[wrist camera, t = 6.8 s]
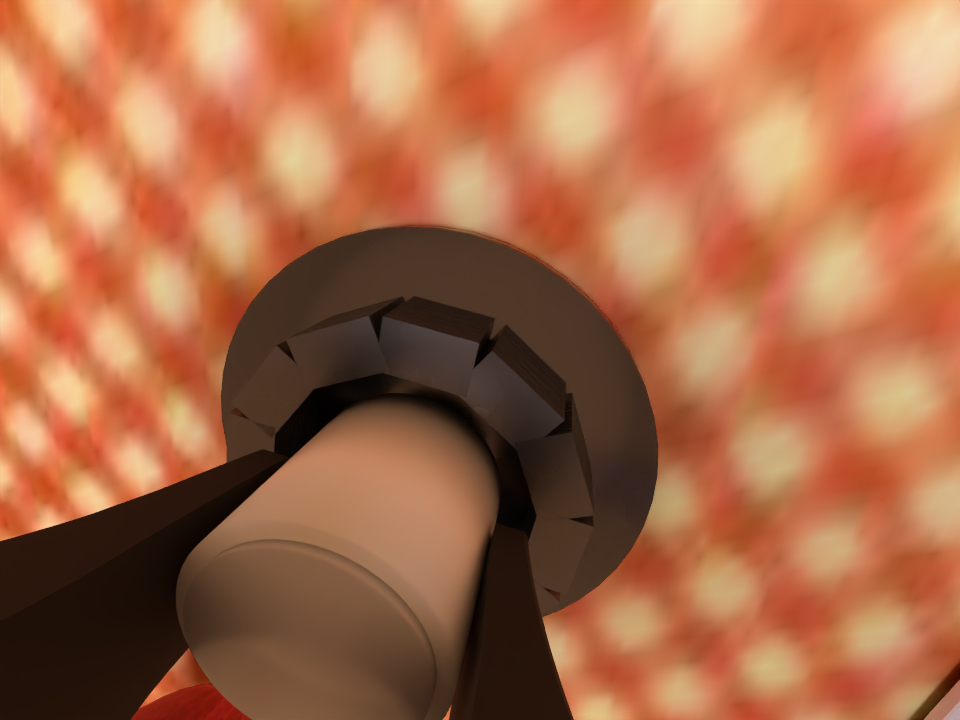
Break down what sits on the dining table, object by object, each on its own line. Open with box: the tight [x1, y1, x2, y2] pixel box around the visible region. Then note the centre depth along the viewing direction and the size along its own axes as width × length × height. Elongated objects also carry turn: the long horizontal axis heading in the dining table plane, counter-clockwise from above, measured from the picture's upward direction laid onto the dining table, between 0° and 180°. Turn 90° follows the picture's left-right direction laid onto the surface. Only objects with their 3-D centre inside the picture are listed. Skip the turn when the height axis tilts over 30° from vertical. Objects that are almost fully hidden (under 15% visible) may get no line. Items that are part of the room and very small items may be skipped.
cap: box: [176, 393, 502, 720], centre depth 9 cm, size 5×5×5 cm
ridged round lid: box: [221, 225, 658, 617], centre depth 12 cm, size 12×12×3 cm
